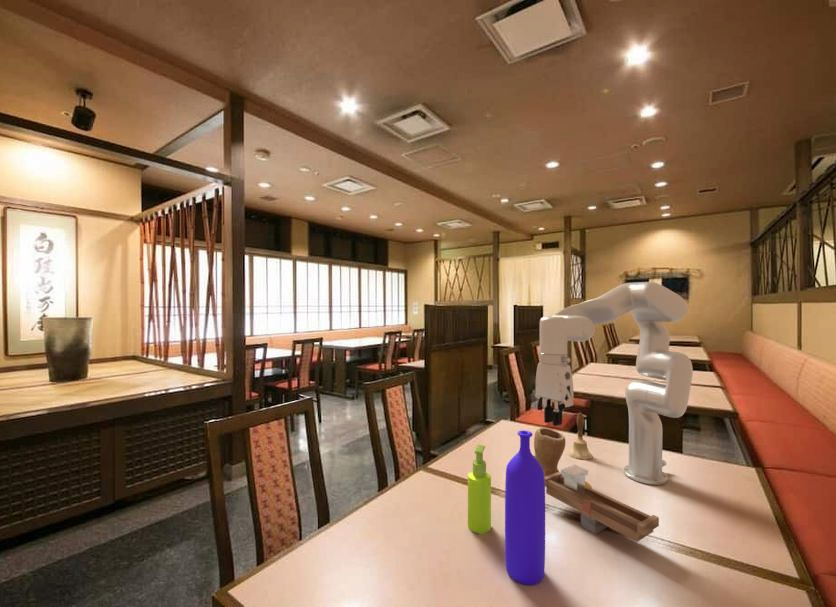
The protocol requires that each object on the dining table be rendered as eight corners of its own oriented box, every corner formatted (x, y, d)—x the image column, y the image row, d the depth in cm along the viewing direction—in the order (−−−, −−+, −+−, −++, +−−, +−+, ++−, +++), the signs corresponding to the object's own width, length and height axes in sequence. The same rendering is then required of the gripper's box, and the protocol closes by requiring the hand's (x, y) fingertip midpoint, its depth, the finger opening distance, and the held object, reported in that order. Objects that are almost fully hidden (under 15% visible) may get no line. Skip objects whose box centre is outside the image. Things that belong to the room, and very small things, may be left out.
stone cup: (572, 483, 119) (572, 436, 119) (536, 485, 118) (536, 438, 118) (550, 463, 135) (550, 421, 134) (518, 464, 133) (518, 422, 133)
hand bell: (564, 451, 145) (564, 410, 145) (584, 450, 146) (584, 409, 146) (575, 460, 137) (575, 416, 137) (597, 459, 138) (597, 416, 138)
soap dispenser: (492, 520, 99) (493, 444, 99) (489, 535, 93) (489, 454, 93) (471, 515, 101) (471, 442, 101) (465, 530, 95) (465, 451, 95)
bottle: (499, 560, 84) (500, 426, 84) (535, 557, 85) (536, 425, 85) (512, 588, 76) (512, 440, 76) (551, 585, 76) (552, 438, 76)
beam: (559, 498, 110) (559, 471, 110) (659, 551, 87) (659, 517, 87) (542, 505, 106) (542, 477, 106) (642, 563, 83) (642, 527, 83)
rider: (574, 486, 105) (574, 464, 105) (587, 492, 102) (587, 470, 102) (561, 492, 102) (561, 469, 102) (573, 499, 98) (573, 475, 98)
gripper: (586, 362, 103) (586, 429, 103) (539, 355, 116) (539, 414, 116) (569, 364, 99) (568, 434, 99) (522, 357, 112) (522, 418, 112)
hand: (553, 422), depth 108 cm, fingers closed
